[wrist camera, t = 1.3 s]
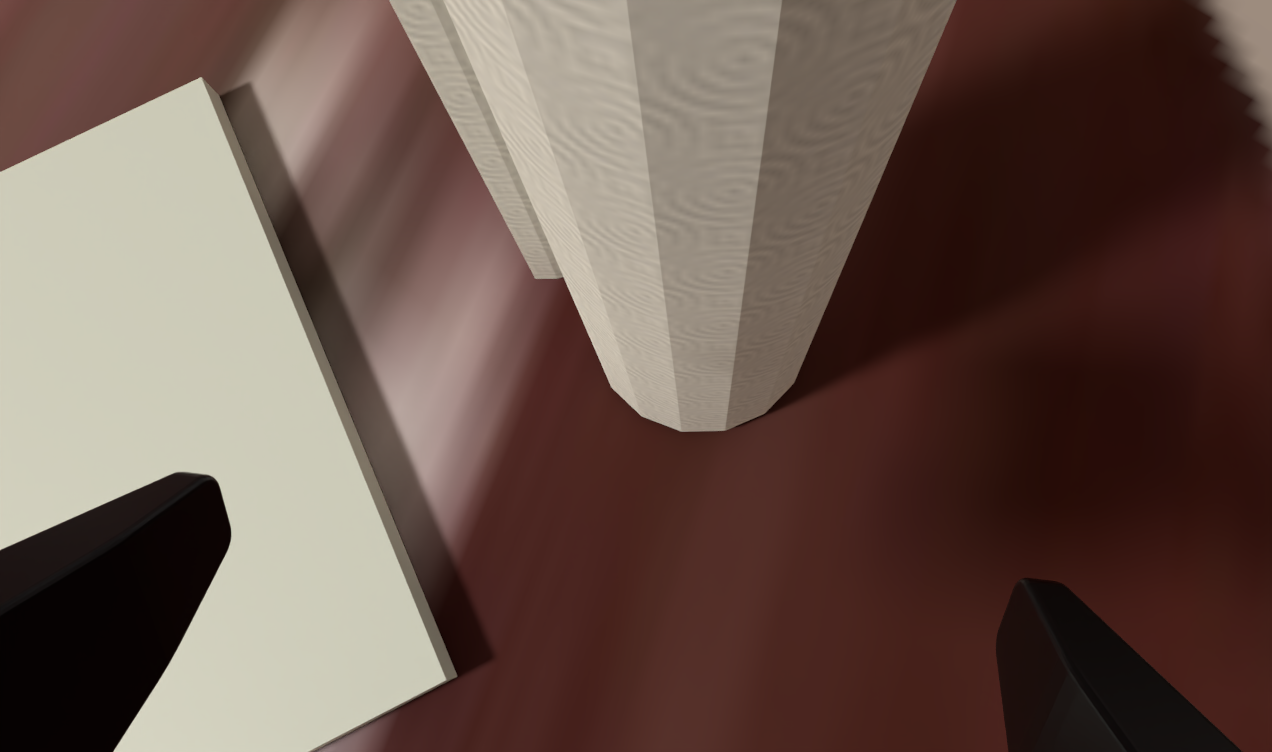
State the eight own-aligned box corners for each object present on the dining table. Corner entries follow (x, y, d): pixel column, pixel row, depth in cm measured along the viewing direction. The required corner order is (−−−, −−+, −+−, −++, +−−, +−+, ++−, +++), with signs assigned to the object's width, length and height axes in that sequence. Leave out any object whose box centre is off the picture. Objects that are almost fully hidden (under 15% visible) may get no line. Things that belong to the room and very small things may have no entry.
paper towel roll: (851, 356, 23) (1942, -1422, 3) (673, 478, 23) (414, -588, 2) (702, 169, 25) (700, -1731, 5) (535, 279, 25) (-299, -1305, 4)
